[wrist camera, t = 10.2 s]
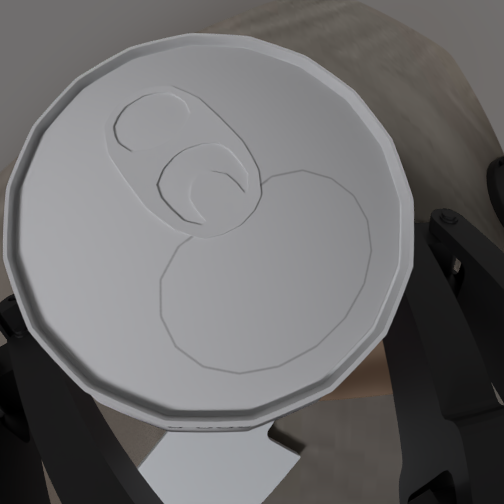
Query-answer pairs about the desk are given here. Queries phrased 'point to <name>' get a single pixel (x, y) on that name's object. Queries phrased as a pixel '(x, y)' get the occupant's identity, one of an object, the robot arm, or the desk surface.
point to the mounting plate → (217, 466)
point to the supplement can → (208, 232)
